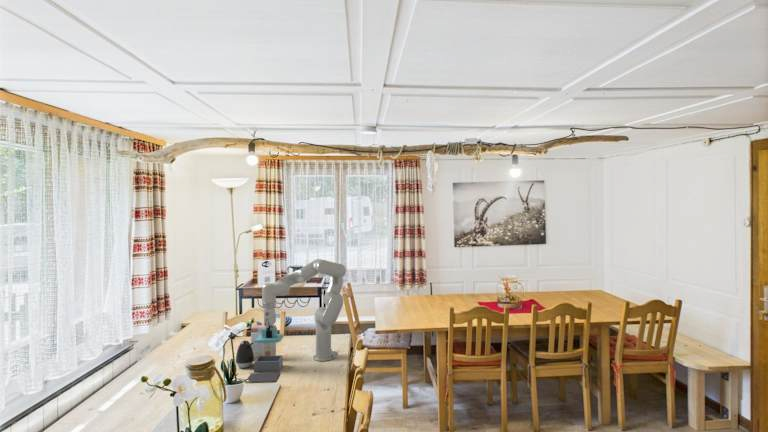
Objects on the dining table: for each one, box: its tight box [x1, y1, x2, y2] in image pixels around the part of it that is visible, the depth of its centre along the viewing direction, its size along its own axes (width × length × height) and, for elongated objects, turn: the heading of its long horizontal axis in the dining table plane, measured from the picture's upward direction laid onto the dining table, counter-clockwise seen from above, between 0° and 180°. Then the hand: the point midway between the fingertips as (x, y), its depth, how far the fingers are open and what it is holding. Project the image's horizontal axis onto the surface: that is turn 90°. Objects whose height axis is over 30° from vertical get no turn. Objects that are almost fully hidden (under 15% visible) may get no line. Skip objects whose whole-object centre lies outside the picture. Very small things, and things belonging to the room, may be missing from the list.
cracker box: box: [250, 324, 277, 362], centre depth 235 cm, size 14×6×21 cm, turn 84°
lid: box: [254, 326, 285, 344], centre depth 220 cm, size 11×15×7 cm
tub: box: [253, 354, 284, 373], centre depth 220 cm, size 10×14×6 cm
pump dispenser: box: [235, 339, 254, 369], centre depth 224 cm, size 10×10×15 cm
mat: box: [245, 371, 281, 384], centre depth 207 cm, size 12×16×1 cm
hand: (269, 336), depth 220 cm, fingers closed on lid, 3 cm apart
